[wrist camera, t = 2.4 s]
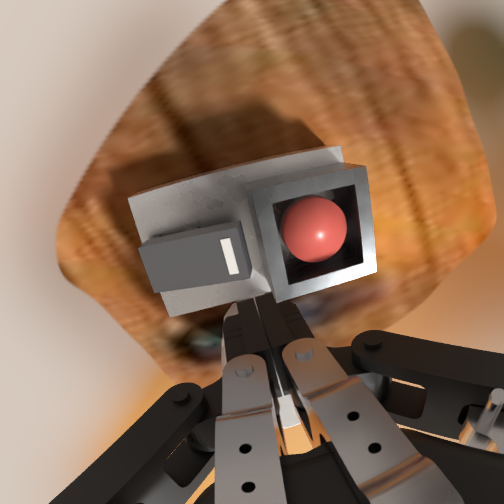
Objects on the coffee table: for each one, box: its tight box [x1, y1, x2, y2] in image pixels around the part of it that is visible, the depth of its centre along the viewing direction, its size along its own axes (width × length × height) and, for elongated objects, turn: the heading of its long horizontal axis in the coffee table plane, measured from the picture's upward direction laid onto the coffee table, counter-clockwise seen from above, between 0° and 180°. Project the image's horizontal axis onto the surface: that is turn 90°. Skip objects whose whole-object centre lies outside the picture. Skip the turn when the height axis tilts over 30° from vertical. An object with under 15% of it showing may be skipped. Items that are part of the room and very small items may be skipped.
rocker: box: [138, 220, 252, 293], centre depth 20 cm, size 4×7×2 cm, turn 103°
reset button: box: [280, 195, 347, 262], centre depth 21 cm, size 4×4×1 cm
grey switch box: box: [128, 145, 377, 317], centre depth 22 cm, size 10×16×7 cm, turn 103°
